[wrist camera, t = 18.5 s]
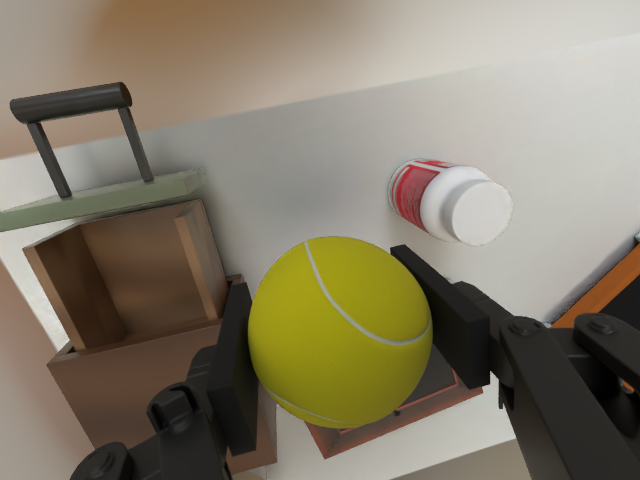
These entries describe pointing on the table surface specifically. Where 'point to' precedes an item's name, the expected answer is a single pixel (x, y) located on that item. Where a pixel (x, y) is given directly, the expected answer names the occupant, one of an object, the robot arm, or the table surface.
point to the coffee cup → (251, 474)
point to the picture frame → (401, 408)
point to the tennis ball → (339, 332)
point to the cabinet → (147, 387)
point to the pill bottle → (450, 201)
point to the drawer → (118, 238)
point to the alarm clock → (612, 295)
